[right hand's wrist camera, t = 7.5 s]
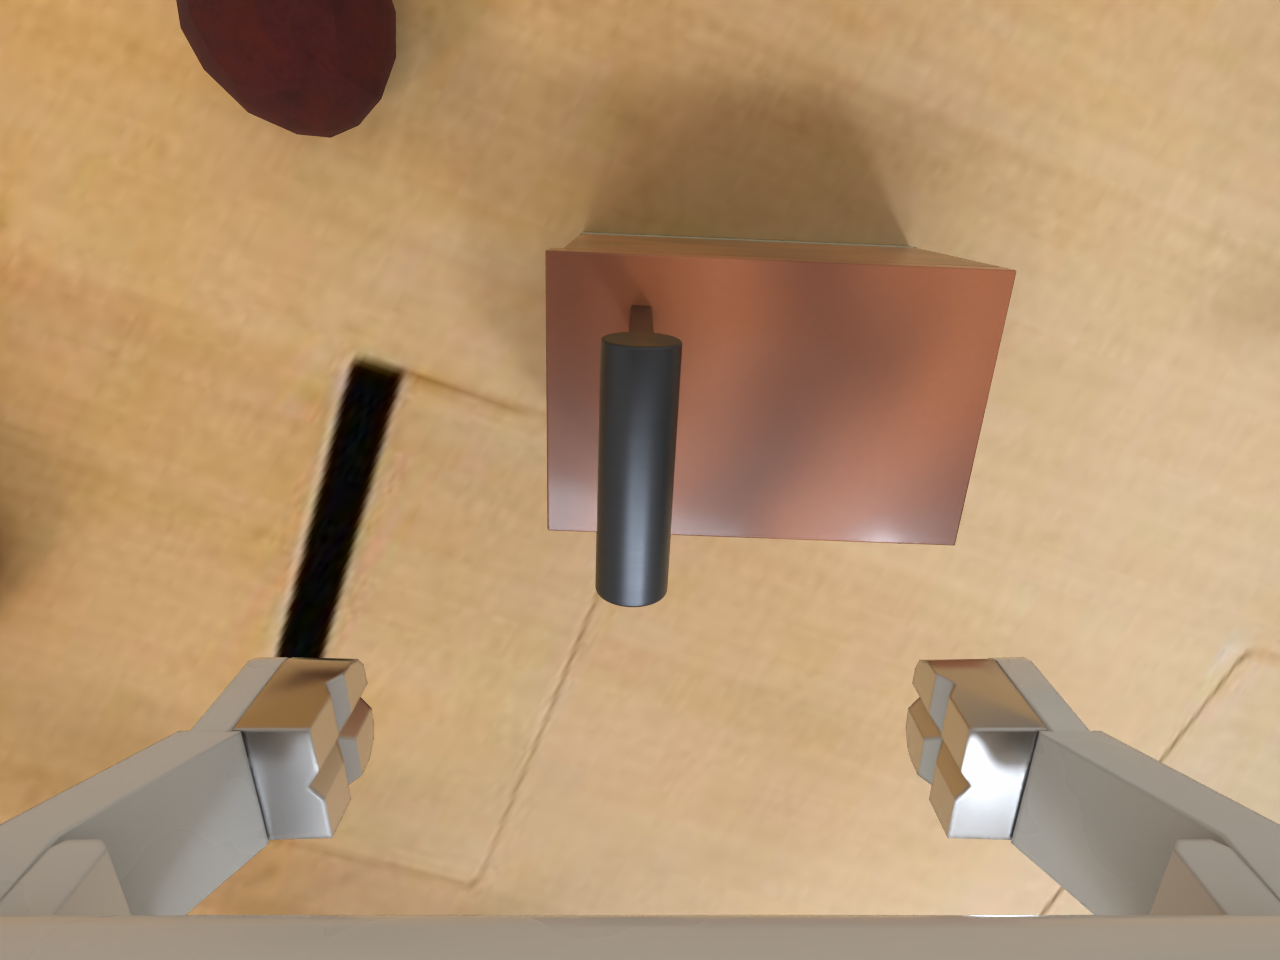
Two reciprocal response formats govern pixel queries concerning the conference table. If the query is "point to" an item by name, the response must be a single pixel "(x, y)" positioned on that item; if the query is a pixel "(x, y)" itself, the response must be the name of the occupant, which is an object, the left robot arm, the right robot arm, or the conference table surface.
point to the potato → (296, 57)
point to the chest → (764, 249)
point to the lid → (761, 401)
